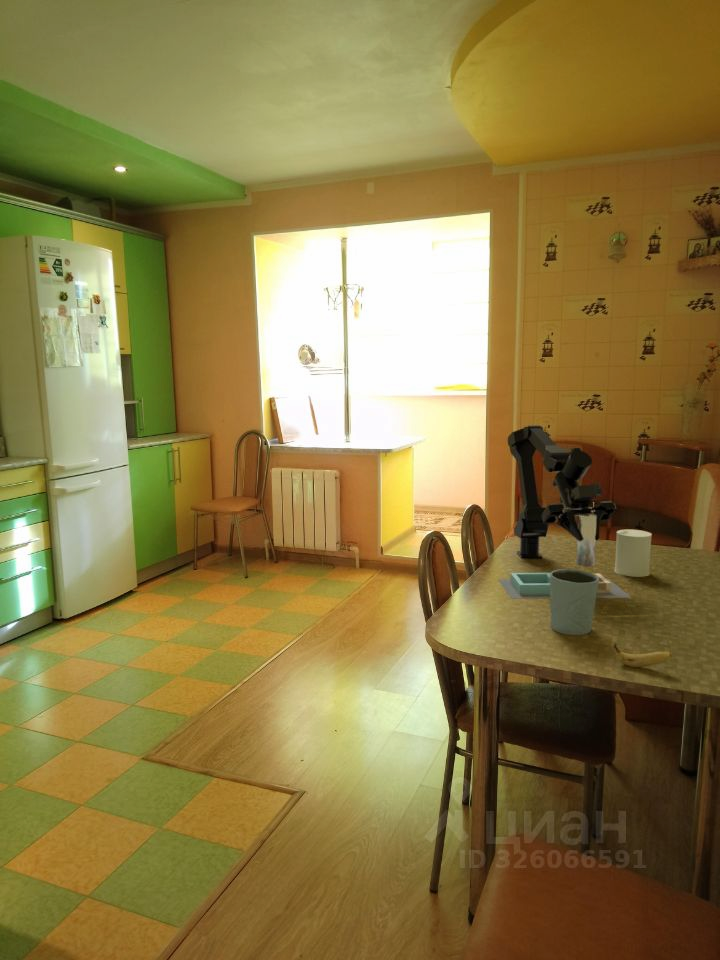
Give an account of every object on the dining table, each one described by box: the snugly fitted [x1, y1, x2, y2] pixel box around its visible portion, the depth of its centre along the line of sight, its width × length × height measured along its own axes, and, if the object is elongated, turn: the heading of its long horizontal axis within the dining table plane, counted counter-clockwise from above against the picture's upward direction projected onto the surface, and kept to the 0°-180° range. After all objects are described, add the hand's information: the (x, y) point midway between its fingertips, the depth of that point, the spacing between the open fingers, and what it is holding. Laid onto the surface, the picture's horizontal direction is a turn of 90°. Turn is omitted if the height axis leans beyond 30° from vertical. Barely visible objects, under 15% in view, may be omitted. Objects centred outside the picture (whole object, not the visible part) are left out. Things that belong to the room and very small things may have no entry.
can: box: [614, 528, 653, 578], centre depth 185 cm, size 9×9×12 cm
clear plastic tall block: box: [575, 513, 597, 567], centre depth 170 cm, size 4×4×13 cm
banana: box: [613, 642, 672, 668], centre depth 125 cm, size 10×2×4 cm, turn 63°
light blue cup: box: [549, 568, 599, 636], centre depth 145 cm, size 10×10×12 cm
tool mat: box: [497, 577, 632, 600], centre depth 172 cm, size 16×30×1 cm, turn 90°
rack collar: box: [509, 572, 551, 595], centre depth 172 cm, size 10×10×2 cm
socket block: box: [592, 572, 611, 593], centre depth 172 cm, size 8×8×2 cm
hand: (589, 539), depth 169 cm, fingers closed on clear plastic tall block, 4 cm apart
